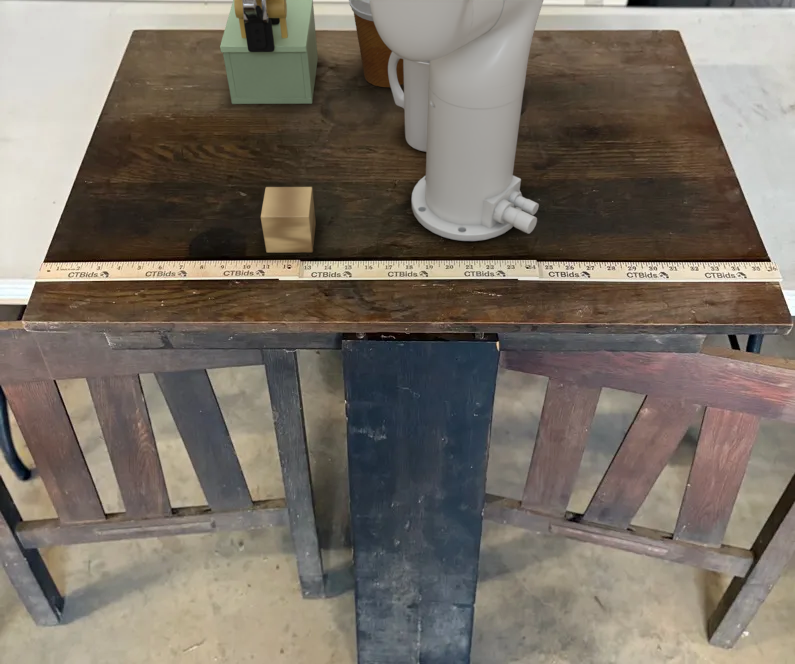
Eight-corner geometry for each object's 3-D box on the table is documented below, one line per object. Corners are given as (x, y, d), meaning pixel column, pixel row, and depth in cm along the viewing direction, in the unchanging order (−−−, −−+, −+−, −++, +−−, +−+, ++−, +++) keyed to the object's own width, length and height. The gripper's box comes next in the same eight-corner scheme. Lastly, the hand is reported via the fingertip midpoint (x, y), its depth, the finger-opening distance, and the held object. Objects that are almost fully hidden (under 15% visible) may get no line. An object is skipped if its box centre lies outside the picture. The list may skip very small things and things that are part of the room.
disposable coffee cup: (348, 92, 107) (343, 5, 98) (356, 56, 113) (353, -29, 104) (419, 95, 106) (421, 8, 97) (423, 58, 113) (425, -27, 104)
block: (315, 222, 89) (312, 186, 85) (312, 252, 86) (308, 216, 82) (271, 222, 89) (265, 186, 85) (266, 252, 86) (260, 217, 82)
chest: (312, 103, 105) (307, 48, 99) (231, 104, 105) (222, 49, 99) (317, 58, 113) (313, 4, 107) (242, 58, 113) (234, 5, 107)
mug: (468, 136, 100) (474, 46, 91) (434, 160, 97) (437, 70, 88) (406, 107, 105) (406, 19, 96) (372, 130, 101) (369, 41, 92)
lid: (306, 52, 99) (302, 6, 94) (220, 52, 99) (212, 7, 94) (313, 4, 107) (309, -40, 103) (234, 4, 107) (227, -39, 103)
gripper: (270, -89, 81) (288, 73, 94) (285, -148, 92) (300, 4, 105) (195, -89, 81) (225, 73, 94) (220, -148, 92) (243, 4, 105)
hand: (264, 35), depth 100 cm, fingers open, 6 cm apart
